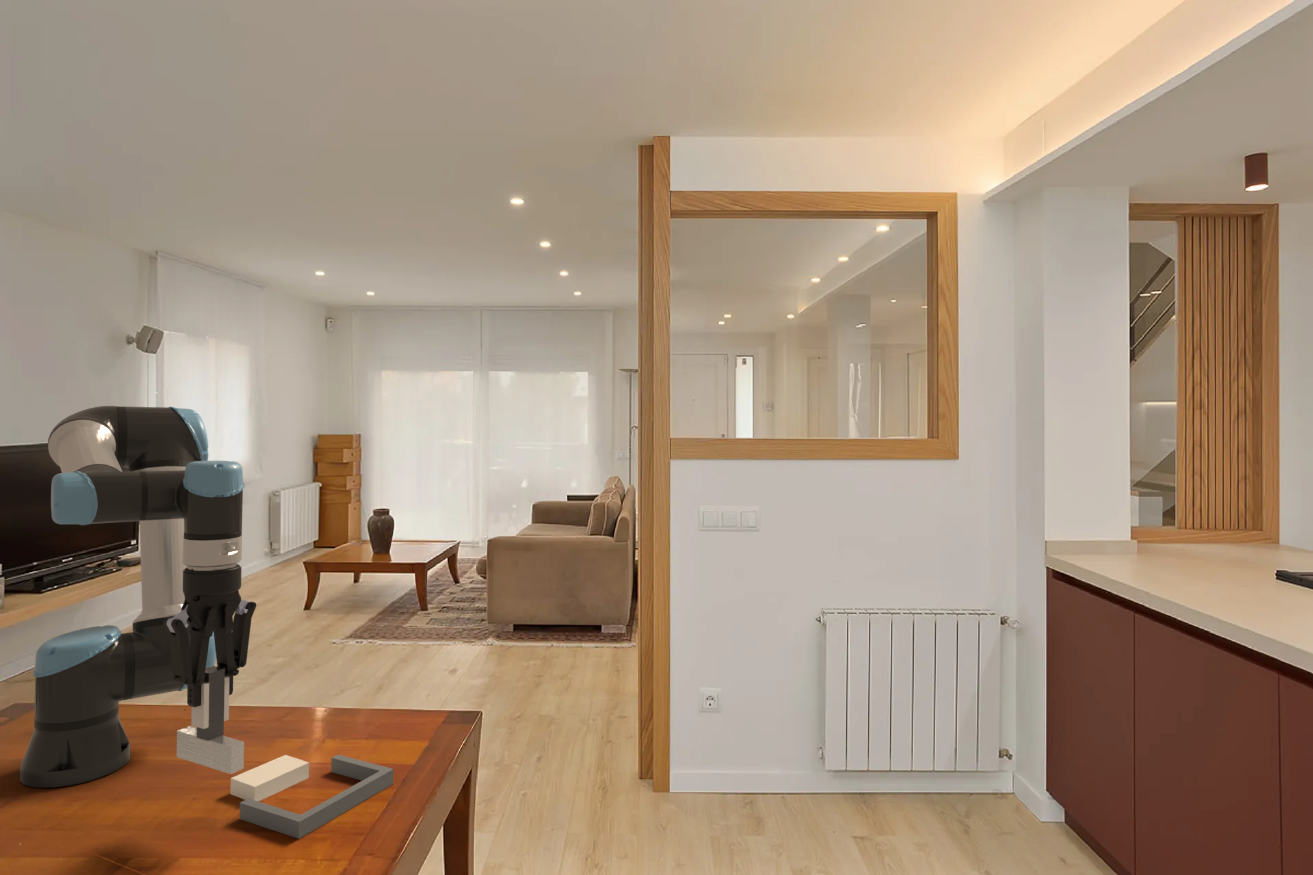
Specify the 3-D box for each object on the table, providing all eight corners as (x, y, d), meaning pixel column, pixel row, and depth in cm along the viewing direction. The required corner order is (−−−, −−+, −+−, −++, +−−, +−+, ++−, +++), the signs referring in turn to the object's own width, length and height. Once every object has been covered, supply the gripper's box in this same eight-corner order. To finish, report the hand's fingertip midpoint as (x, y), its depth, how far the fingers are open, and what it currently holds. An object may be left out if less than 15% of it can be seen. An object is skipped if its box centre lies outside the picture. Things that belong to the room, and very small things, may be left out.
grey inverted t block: (174, 757, 114) (176, 665, 114) (190, 751, 117) (192, 660, 116) (229, 774, 110) (231, 678, 109) (245, 767, 112) (246, 673, 112)
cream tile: (230, 796, 123) (230, 777, 123) (285, 771, 132) (285, 754, 132) (254, 805, 120) (254, 786, 120) (308, 779, 129) (309, 762, 129)
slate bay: (239, 818, 116) (239, 802, 116) (338, 768, 133) (338, 754, 133) (299, 838, 110) (299, 821, 110) (393, 783, 128) (393, 768, 128)
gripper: (177, 577, 104) (175, 747, 104) (276, 559, 118) (273, 709, 119) (142, 571, 107) (140, 736, 107) (242, 554, 121) (240, 700, 122)
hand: (210, 721), depth 113 cm, fingers closed on grey inverted t block, 2 cm apart
